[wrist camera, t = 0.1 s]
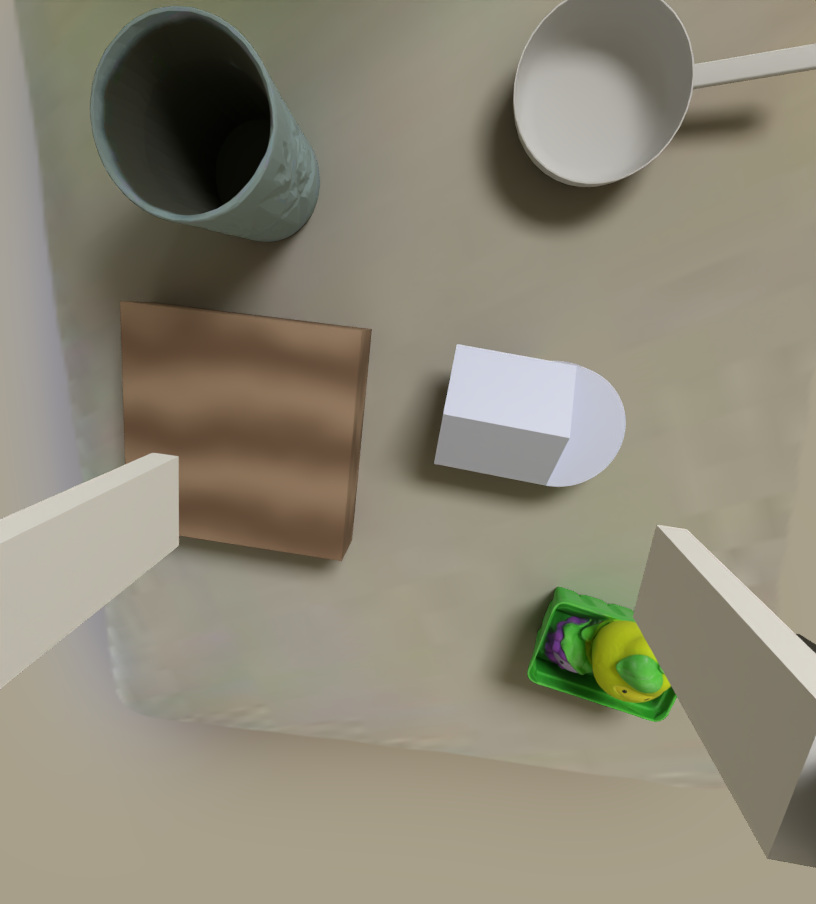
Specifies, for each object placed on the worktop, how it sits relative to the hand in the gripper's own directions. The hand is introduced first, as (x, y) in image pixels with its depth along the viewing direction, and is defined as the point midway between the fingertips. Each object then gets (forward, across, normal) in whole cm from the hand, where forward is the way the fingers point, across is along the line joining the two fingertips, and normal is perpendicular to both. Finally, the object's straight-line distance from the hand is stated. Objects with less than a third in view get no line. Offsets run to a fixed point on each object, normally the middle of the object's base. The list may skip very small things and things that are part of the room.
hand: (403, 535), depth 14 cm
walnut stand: (+28, -15, -5) cm, 32 cm away
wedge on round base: (+28, +7, -1) cm, 29 cm away
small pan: (+28, +11, +21) cm, 37 cm away
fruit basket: (+28, +16, -18) cm, 37 cm away
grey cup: (+28, -15, +14) cm, 35 cm away
